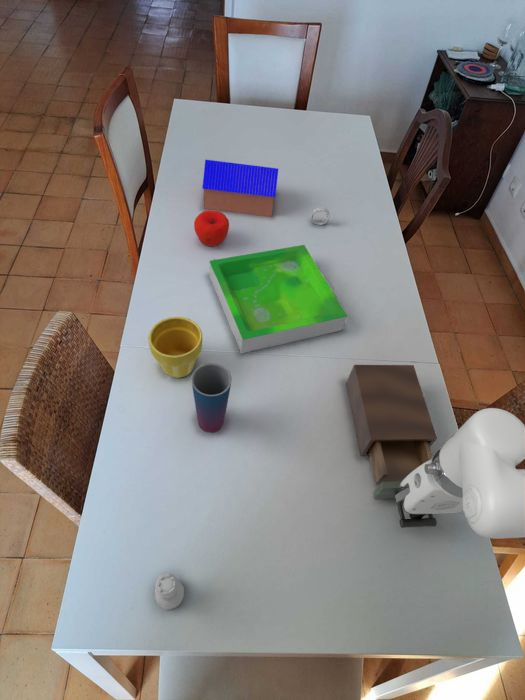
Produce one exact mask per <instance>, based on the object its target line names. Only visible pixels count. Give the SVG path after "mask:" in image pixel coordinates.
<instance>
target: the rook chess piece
mask: <svg viewBox="0 0 525 700" xmlns="http://www.w3.org/2000/svg"><path fill="white" fill-rule="evenodd" d="M154 590H155V591H154V599H155V603H156V604H157V605H158V607H160V608H161V609H163V610H168V611H169V610H172V609H175V608H178V606H179V605H180V604H182V601H183V599H184V597H185V588H184V585H183V583H182V582H181V580H180V579H179V578H178V577H177V576H176V575H175V574H174V573H171V572H165V573H162V574H160V575H159V576H158V577H157V579H156V580H155V584H154Z"/></svg>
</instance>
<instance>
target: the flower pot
mask: <svg viewBox="0 0 525 700" xmlns="http://www.w3.org/2000/svg"><path fill="white" fill-rule="evenodd" d="M148 345H149V351H150V353H151V356H152V357H153V358H154V359H155V361H157V363H158V364H159V365H160V367H161V368H162V371H163V372H164V373H165V374H166V375H167V376H169V377H172V378H177V379H178V378H184V377H186V376H188V375H190V374H191V373H192V372H193V370H194V368H195V364H196V361H197V358H199V356H200V354H201V352H202V350H203V331H202V329H201V328H200V326H199V325H198V323H196V322H195V321H193V320H192V319H189V318H188V317H187V318H186V317H182V316H171V317H166V318H164V319H161V320H160V321H158V322H156V323H155V324H154V325H153V326H152V327H151V329H150V331H149V334H148Z"/></svg>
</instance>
